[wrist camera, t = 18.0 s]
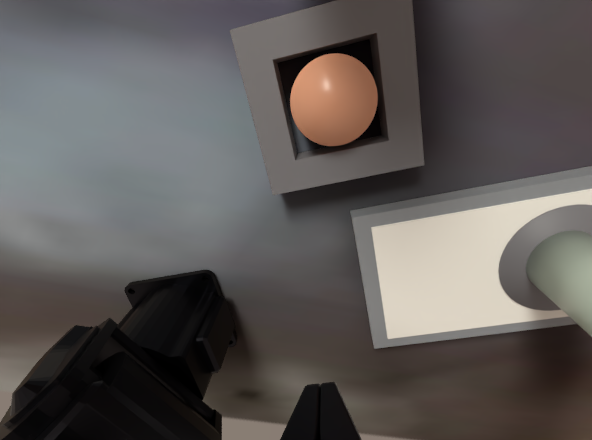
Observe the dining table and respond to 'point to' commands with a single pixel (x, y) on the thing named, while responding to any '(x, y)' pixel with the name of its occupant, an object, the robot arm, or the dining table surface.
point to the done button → (333, 99)
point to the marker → (565, 273)
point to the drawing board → (465, 258)
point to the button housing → (320, 37)
